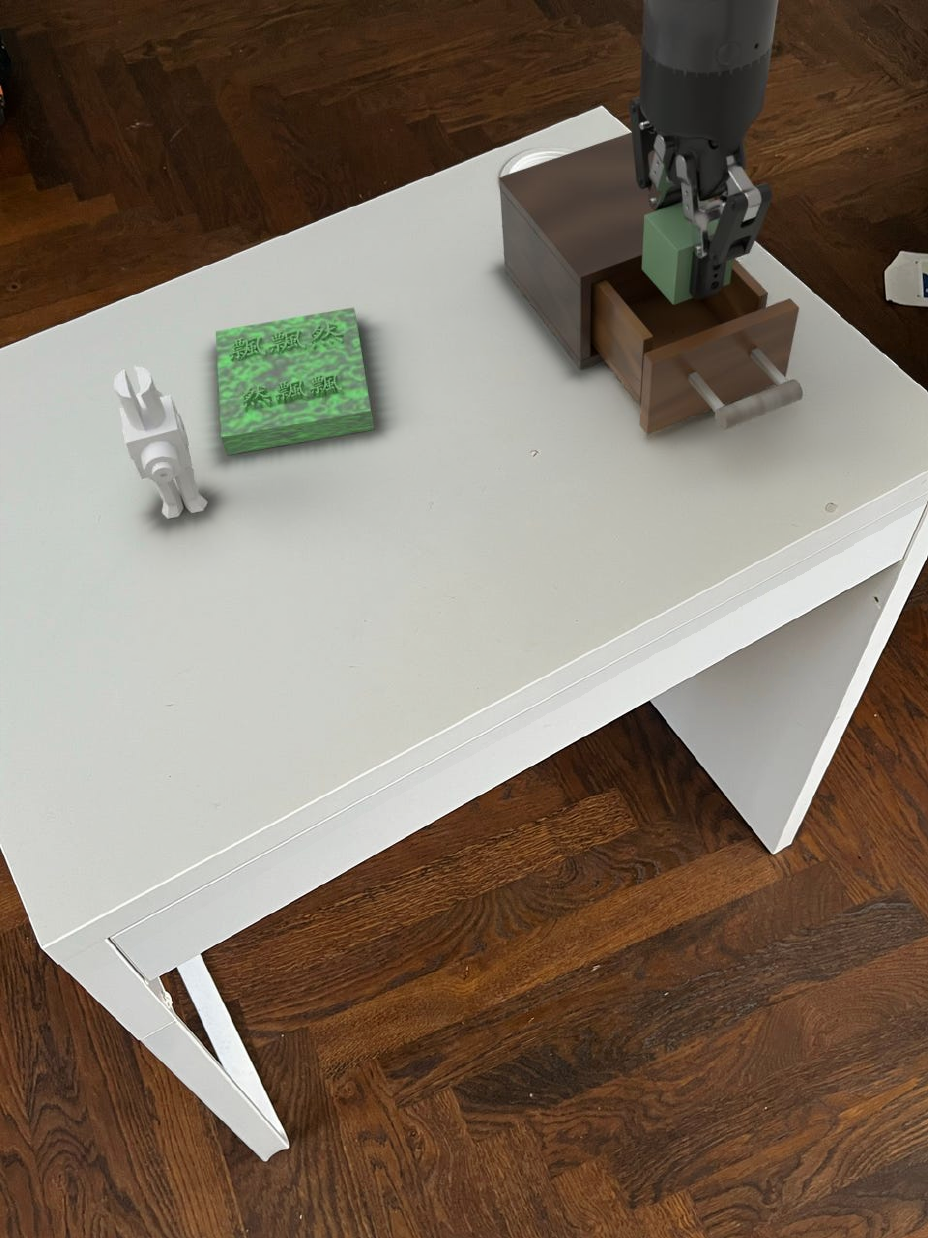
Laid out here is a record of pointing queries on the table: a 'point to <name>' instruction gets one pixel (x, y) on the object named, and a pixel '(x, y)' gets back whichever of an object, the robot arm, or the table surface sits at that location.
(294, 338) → the green jade tablet
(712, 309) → the drawer
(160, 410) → the toy robot
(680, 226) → the block
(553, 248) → the cabinet
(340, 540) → the table surface
